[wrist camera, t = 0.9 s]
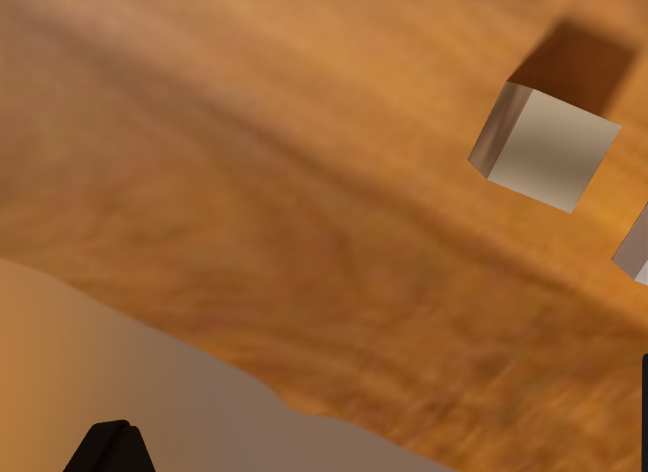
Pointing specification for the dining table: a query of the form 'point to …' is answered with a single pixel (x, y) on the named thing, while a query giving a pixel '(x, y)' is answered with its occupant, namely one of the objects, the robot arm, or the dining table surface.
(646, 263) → the grey base
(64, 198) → the dining table surface
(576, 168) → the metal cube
